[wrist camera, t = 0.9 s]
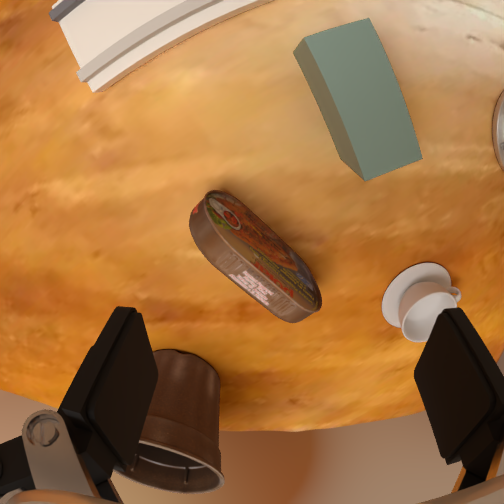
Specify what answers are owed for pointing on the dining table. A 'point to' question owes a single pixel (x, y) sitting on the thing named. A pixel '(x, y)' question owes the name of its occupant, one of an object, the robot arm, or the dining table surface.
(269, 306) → the tin
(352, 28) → the tea box
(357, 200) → the dining table surface
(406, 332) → the teacup
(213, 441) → the plant pot
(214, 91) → the dining table surface
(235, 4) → the white railed tray
